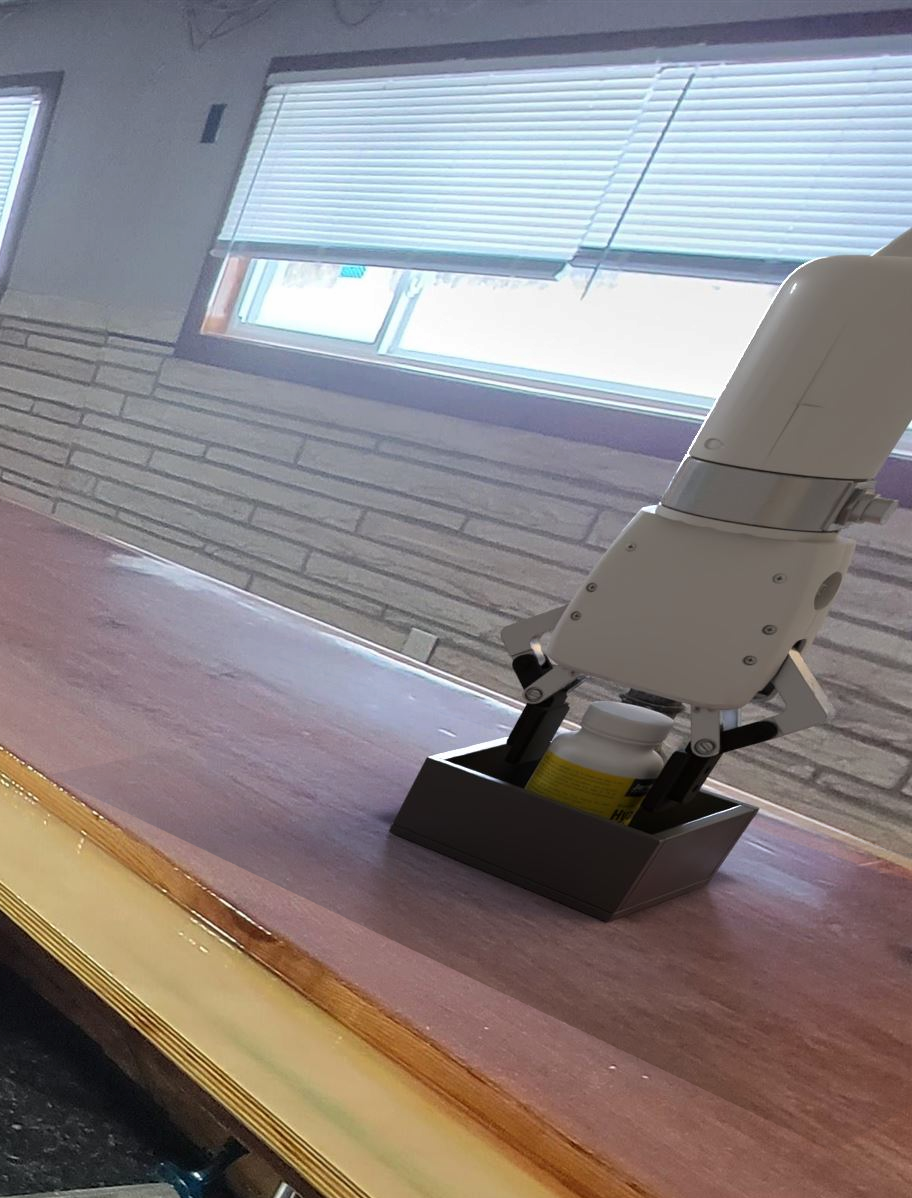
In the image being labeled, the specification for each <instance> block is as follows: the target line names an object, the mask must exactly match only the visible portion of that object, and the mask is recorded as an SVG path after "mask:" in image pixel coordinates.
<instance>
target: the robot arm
mask: <svg viewBox="0 0 912 1198" xmlns="http://www.w3.org/2000/svg"><path fill="white" fill-rule="evenodd" d="M911 422H912V227H910V228H908V229H907V230H906V231H904V232H903V233H901V234H900V235H898V236H897V237H895V238H894V239H892V240H891V241H889V242H888V243H887V244H885V245H883V246H882V247H881V248H879V249H878V250H876V251H875V252H873V253H872V254H836V255H835V254H834V255H825V256H822V257H818V258H814V259H812V260H810V261H807V262H805V263H804V264H802V265H800V266H798V267H797V268H795V270H794V271H793V272H791V273H790V274H789V275H788V276H787V278H786V279H785V280H784V281H783V282H782V284H781V285H780V287H779V289H778V290H777V292H776V293H775V294H774V296H773V298H772V300H771V302H770V303H769V305H768V307H767V309H766V311H765V312H764V314H763V316H762V318H761V320H760V321H759V323H758V325H757V327H756V328H755V331H754V332H753V334H752V335H751V337H750V340H749V341H748V343H747V345H746V347H745V348H744V350H743V352H742V353H741V355H740V357H739V359H738V361H737V363H736V364H735V366H734V368H733V370H732V372H731V374H730V375H729V377H728V378H727V381H726V382H725V384H724V386H723V388H722V390H721V391H720V393H719V395H718V397H717V398H716V400H715V402H714V404H713V406H712V407H711V409H710V411H709V412H708V414H707V416H706V418H705V420H704V422H703V423H702V425H701V427H700V429H699V430H698V432H697V434H696V436H695V438H694V439H693V441H692V443H691V445H690V446H689V448H688V450H687V452H686V453H687V454H685V456H684V457H683V460H682V461H681V463H680V465H679V467H678V469H677V470H676V472H675V474H674V476H673V477H672V479H671V481H670V483H669V485H668V486H667V488H666V490H665V492H664V494H663V495H662V497H661V499H660V500H659V502H658V504H655V505H648V506H643V507H641V509H640V510H639V511H637V513H636V514H635V516H633V517H632V518H631V520H630V521H629V522H628V523H627V525H625V527H623V529H622V530H621V531H620V533H619V534H617V536H616V538H615V539H614V540H613V541H612V543H611V544H610V546H609V547H608V548H607V549H606V551H605V552H604V553H603V554H602V556H601V557H600V558H599V560H598V561H597V562H596V564H594V566H593V568H592V569H591V570H590V572H589V573H588V575H587V576H586V578H585V579H584V581H583V582H582V584H581V585H580V587H579V588H578V590H577V591H576V592H575V594H574V596H573V597H572V599H571V600H570V602H569V603H568V604H564V605H561V606H559V607H556V608H553V609H550V610H548V611H545V612H542V613H539V614H536V615H534V616H531V617H527V618H525V619H523V620H519V621H517V622H514V623H511V624H508V625H505V626H504V627H503V628H502V629H501V630H500V632H499V633H500V637H501V640H502V643H503V645H504V646H505V649H506V652H507V654H508V656H509V657H510V658H511V661H512V663H511V667H512V670H513V671H514V674H515V675H516V677H517V679H518V682H519V683H520V686H521V688H522V689H523V692H522V693H521V694H522V695H521V697H522V700H523V701H524V702H526V704H525V706H524V708H523V710H522V711H521V714H519V717H518V719H517V721H516V722H515V724H514V725H513V728H512V730H511V731H510V734H509V735H508V736H507V737H508V739H507V742H506V743H507V745H510V746H512V747H511V749H510V751H509V753H508V754H507V756H506V758H505V762H508V763H510V764H513V765H516V764H522V763H526V762H530V761H534V760H538V759H540V758H541V757H542V756H543V755H544V753H545V751H546V750H547V748H548V746H549V744H550V743H551V741H552V740H554V738H555V737H556V734H557V732H558V730H559V729H560V727H561V726H562V724H563V722H564V720H565V718H566V716H567V715H568V713H569V711H570V709H571V706H569V705H570V702H569V701H566V700H567V699H568V694H570V693H571V692H572V691H574V690H576V688H578V687H579V686H581V685H582V684H584V683H585V682H586V681H588V680H589V679H591V678H592V677H593V678H595V679H598V680H602V681H605V682H608V683H613V684H615V685H619V686H621V687H622V686H623V687H626V688H629V689H630V688H633V689H636V690H640V691H643V692H647V693H650V694H654V695H657V696H661V697H664V698H668V699H671V700H675V701H678V702H682V704H686V705H690V740H689V742H688V743H687V745H686V746H685V747H683V748H681V749H677V750H674V751H673V752H672V754H671V755H670V758H669V760H668V761H667V763H666V764H665V766H664V767H663V769H662V771H661V772H660V774H659V775H658V777H657V779H656V780H655V782H654V783H653V785H652V787H651V788H650V790H649V791H648V793H647V795H646V796H645V798H644V799H643V801H642V803H641V804H640V806H641V807H643V810H645V811H648V812H651V813H656V812H659V811H662V810H665V809H669V808H672V807H674V806H676V805H677V804H678V803H682V804H685V803H688V802H689V801H691V800H692V799H693V798H694V797H695V796H696V794H697V793H698V791H699V790H700V788H701V789H702V787H703V785H704V784H705V782H706V781H707V779H708V778H709V776H710V774H711V773H712V771H713V770H714V769H715V767H716V765H717V764H718V762H719V761H720V759H721V758H722V756H723V754H724V753H725V754H726V753H728V752H732V751H735V750H740V749H742V748H746V747H749V746H753V745H758V744H761V743H764V742H768V741H771V740H774V739H775V740H776V739H778V738H781V737H784V736H789V735H791V734H793V733H797V732H800V731H803V730H807V729H810V728H813V727H816V726H817V727H818V726H820V725H823V724H826V723H829V722H831V721H833V720H834V719H835V718H836V716H837V711H836V708H835V707H834V706H833V704H832V702H831V701H830V698H829V697H828V695H827V694H826V692H825V691H824V689H823V688H822V687H821V684H820V683H819V682H818V680H817V678H816V677H815V675H814V674H813V672H812V670H810V669H811V668H809V666H808V664H807V663H806V662H805V657H806V655H807V654H808V652H809V650H810V648H811V646H812V645H813V642H814V641H815V638H816V636H817V635H818V633H819V631H820V629H821V627H822V625H823V624H824V622H825V620H826V618H827V616H828V614H829V612H830V611H831V608H832V606H833V604H834V602H835V600H836V597H837V595H838V593H839V592H840V589H841V587H842V584H843V582H844V579H845V577H846V575H847V572H848V571H849V567H850V565H851V562H852V560H853V557H854V554H855V551H856V547H857V543H858V541H856V540H855V539H853V538H849V537H845V536H840V535H839V534H840V533H841V531H842V530H846V529H848V528H849V527H850V526H852V525H853V526H854V524H858V525H862V524H864V523H869V524H874V525H880V526H881V525H884V524H886V523H887V522H888V521H889V520H890V519H891V518H892V517H893V515H894V514H895V512H896V511H897V509H898V507H899V504H900V500H899V499H894V498H889V497H883V495H882V494H881V493H876V491H877V488H875V487H876V485H877V484H878V482H879V480H878V479H877V480H875V478H876V477H877V475H878V474H879V472H880V470H881V469H882V468H883V466H884V464H885V463H886V461H887V460H888V458H889V457H890V455H891V453H892V452H893V451H894V449H895V448H896V446H897V444H898V443H899V441H900V439H901V438H902V436H903V435H904V433H905V432H906V430H907V429H908V427H909V426H910V424H911ZM551 632H552V633H551ZM549 633H551V635H550V637H549V640H548V642H547V646H546V649H545V650H546V653H544V652H543V650H542V645H541V638H542V637H543V636H544V635H547V634H549ZM551 661H552V662H554V663H555V664H557V665H556V666H553V664H552V663H551ZM778 696H779V697H780V698H781V700H782V701H783V703H784V705H785V707H784V710H782V712H781V713H778V714H776V715H773V716H770V717H767V718H764V719H760V720H757V721H754V722H750V723H747V724H744V725H742V708H743V707H745V706H746V705H748V704H749V703H764V702H769V701H772V700H773V699H776V698H777V697H778Z"/></svg>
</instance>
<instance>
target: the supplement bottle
mask: <svg viewBox="0 0 912 1198" xmlns="http://www.w3.org/2000/svg"><path fill="white" fill-rule="evenodd" d="M578 724H579V726H580V729H579V730H571V731H566V732H563V733H560V734H558V735H557V736H555V737H554V738H553V739H552V740H553V741H552V742H551V744H550V746H549V747H548V749H547V751H546V752H545V754H544V756H543V758H542V759H541V761H540V763H539V764H538V766H537V768H536V770H535V771H534V773H533V775H532V776H531V778H530V780H529V781H528V783H527V785H526V786H525V788H524V789H526V790H529V791H531V792H534V793H537V794H540V795H543V796H545V797H548V798H551V799H554V800H556V801H559V802H562V803H565V804H568V805H570V806H573V807H576V808H579V809H582V810H584V811H587V812H590V813H593V814H595V815H598V816H601V817H604V818H607V819H609V820H612V821H615V822H618V823H620V824H623V825H626V826H627V825H628V824H629V822H630V821H631V819H632V818H633V816H634V814H635V813H636V811H637V810H638V808H639V807H640V804H641V803H642V801H643V799H644V798H645V796H646V795H647V793H648V791H649V790H650V788H651V787H652V785H653V783H654V782H655V780H656V779H657V777H658V775H659V774H660V772H661V771H662V769H663V767H664V763H663V760H662V758H661V757H660V755H659V754H658V753H656V752H655V751H654V750H653V749H654V747H655V746H657V745H661V744H662V745H663V744H664V741H666V740H667V739H668V737H669V735H670V733H671V731H672V730H673V728H674V726H675V724H676V722H675V719H674V720H673V719H671V718H670V717H668V716H666V715H664V714H661V713H659V712H656V711H653V710H650V709H646V708H643V707H639V706H635V705H630V704H625V703H620V702H619V701H612V700H595V701H592V702H591V703H590V704H589V705H588V707H587V708H586V710H585V711H584V713H583V715H582V716H581V719H580V721H578Z"/></svg>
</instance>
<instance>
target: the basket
mask: <svg viewBox="0 0 912 1198" xmlns="http://www.w3.org/2000/svg"><path fill="white" fill-rule="evenodd" d="M508 737H509V736H507V737H502V738H499V739H494V740H490V741H486V742H482V743H478V744H474V745H471V746H467V747H461V748H458V749H454V750H450V751H446V752H441V753H438V754H434V755H431V756H426V758H425V760H424V761H423V764H422V766H421V767H420V769H419V772H418V773H417V775H416V777H415V779H414V781H413V783H412V785H411V787H410V788H409V790H408V792H407V794H406V796H405V798H404V800H403V803H402V804H401V806H400V807H399V810H398V812H397V814H396V815H395V818H394V819H393V821H392V823H391V825H390V827H389V829H388V833H391V834H393V835H396V836H398V837H401V838H403V839H405V840H408V841H410V842H413V843H414V844H417V845H420V846H422V847H425V848H428V849H429V850H432V851H434V852H437V853H439V854H442V855H443V856H447V857H449V858H452V859H454V860H456V861H459V862H460V863H464V864H465V865H468V866H471V867H473V868H475V869H478V870H480V871H482V872H485V873H488V874H490V875H492V876H495V877H497V878H500V879H502V880H505V881H506V882H508V883H512V884H514V885H515V886H516V885H517V886H519V887H522V888H523V889H526V890H529V891H530V892H533V893H535V894H538V895H541V896H543V897H545V898H548V899H550V900H551V901H555V902H557V903H559V904H562V905H564V906H567V907H569V908H572V909H574V910H577V911H579V912H582V913H584V914H586V915H588V916H591V917H594V918H596V919H598V920H601V921H604V922H605V923H609V922H613V921H615V920H618V919H621V918H623V917H626V916H628V915H632V914H633V913H636V912H640V911H642V910H645V909H647V908H650V907H653V906H655V905H657V904H661V903H663V902H666V901H669V900H672V899H674V898H676V897H679V896H681V895H685V894H688V893H689V892H692V891H695V890H698V889H700V888H703V887H706V886H708V885H709V884H710V883H711V881H712V880H713V877H714V876H715V875H716V874H717V872H718V871H719V869H720V867H721V866H722V865H723V864H724V862H725V860H726V859H727V857H728V856H729V854H730V853H731V851H732V850H733V849H734V847H735V846H736V844H737V843H738V841H739V839H740V838H741V837H742V836H743V834H744V832H745V831H746V830H747V828H748V827H749V826H750V824H751V822H752V821H753V820H754V818H755V817H756V815H757V813H759V811H760V807H759V806H756V805H753V804H749V803H747V802H744V801H741V800H737V799H735V798H731V797H728V796H725V795H722V794H719V793H716V792H713V791H710V790H707V789H704V788H702V787H701V788H700V790H699V791H698V793H697V794H696V796H695V797H694V798H693V799H692V800H691V801H689V802H688V803H685V804H682V803H678V804H677V805H676V806H674V807H672V808H669V809H665V810H662V811H659V812H656V813H651V812H648V811H645V810H643V807H641V806H640V807H639V808H638V810H637V811H636V813H635V814H634V816H633V818H632V819H631V821H630V822H629V824H628V825H627V826H626V825H623V824H620V823H618V822H615V821H612V820H609V819H607V818H604V817H601V816H598V815H595V814H593V813H590V812H587V811H584V810H582V809H579V808H576V807H573V806H570V805H568V804H565V803H562V802H559V801H556V800H554V799H551V798H548V797H545V796H543V795H540V794H537V793H534V792H531V791H529V790H526V789H524V788H525V786H526V785H527V783H528V781H529V780H530V778H531V776H532V775H533V773H534V771H535V770H536V768H537V766H538V764H539V763H540V761H541V759H542V758H543V756H544V755H543V756H542V757H541V758H540V759H538V760H534V761H530V762H526V763H522V764H516V765H513V764H510V763H508V762H505V758H506V756H507V754H508V753H509V751H510V749H511V747H512V746H510V745H507V743H506V742H507V739H508ZM553 740H554V739H552V741H553ZM552 741H551V742H552ZM550 744H551V743H550ZM550 744H549V746H550ZM549 746H548V747H549ZM547 749H548V748H547ZM546 751H547V750H546ZM546 751H545V752H546ZM544 754H545V753H544Z"/></svg>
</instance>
